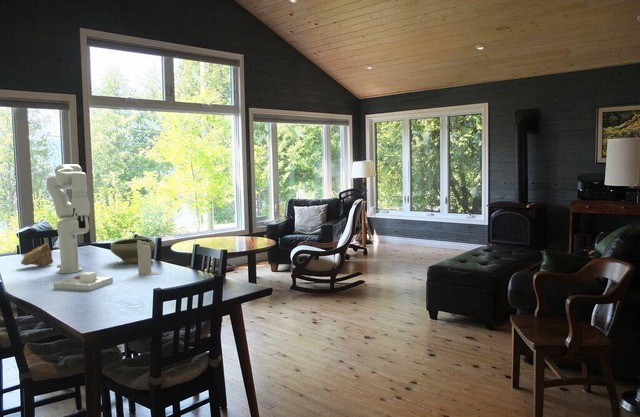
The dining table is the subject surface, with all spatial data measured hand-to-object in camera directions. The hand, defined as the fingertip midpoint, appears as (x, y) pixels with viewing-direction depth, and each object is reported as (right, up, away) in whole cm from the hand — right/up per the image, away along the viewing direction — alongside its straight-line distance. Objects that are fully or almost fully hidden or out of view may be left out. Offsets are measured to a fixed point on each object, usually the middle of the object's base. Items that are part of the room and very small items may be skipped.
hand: (82, 228), depth 276 cm
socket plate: (+6, -30, -11) cm, 33 cm away
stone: (-49, -27, +44) cm, 71 cm away
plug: (+9, -30, -12) cm, 34 cm away
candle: (+32, -27, +16) cm, 45 cm away
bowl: (+8, -24, +54) cm, 60 cm away
